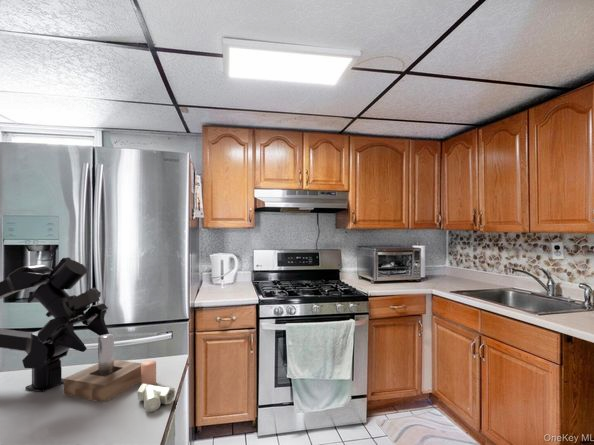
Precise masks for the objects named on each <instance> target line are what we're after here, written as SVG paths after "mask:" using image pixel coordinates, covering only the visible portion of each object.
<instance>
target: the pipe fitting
mask: <svg viewBox="0 0 594 445" xmlns="http://www.w3.org/2000/svg"><path fill="white" fill-rule="evenodd" d="M136 393H137V400H138V401H143V404H144V405H143V406H144V410H145V411H146V412H147V413H151V412H156V411H157V410H158V409H159V408H160V407H161V404H162V405H171V404H172V403H173V402H174V399H175V397H176V388H175V387H168V386H161V385H156V384H155V385H152V384H142V385H140V387H139V388H138V390H137V392H136Z"/></svg>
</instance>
